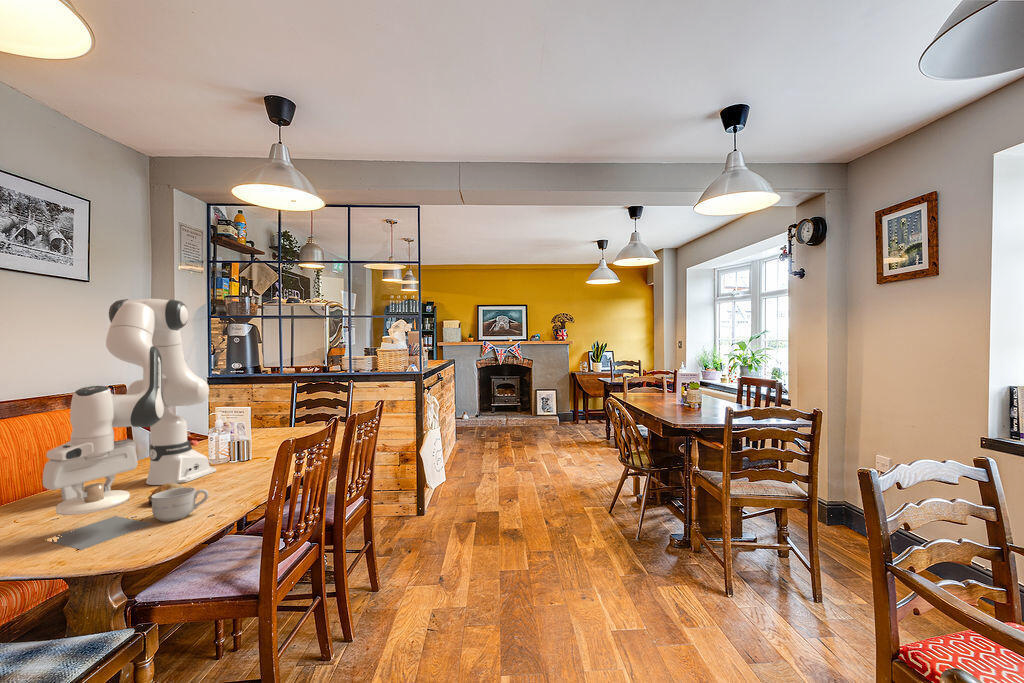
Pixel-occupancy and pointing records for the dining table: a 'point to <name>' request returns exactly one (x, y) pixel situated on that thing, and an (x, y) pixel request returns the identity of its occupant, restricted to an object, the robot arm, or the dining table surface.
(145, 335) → the robot arm
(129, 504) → the dining table surface
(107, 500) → the lid
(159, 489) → the bread roll
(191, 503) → the teacup
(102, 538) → the mat
